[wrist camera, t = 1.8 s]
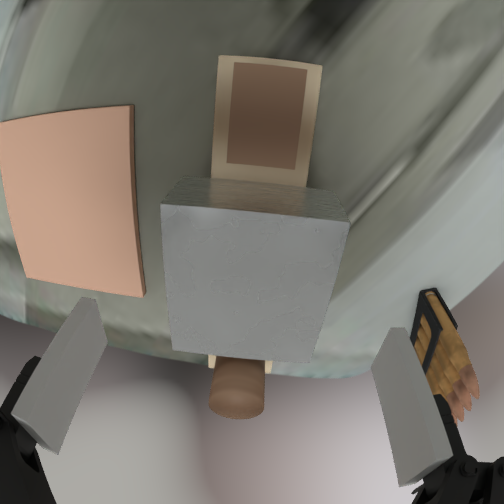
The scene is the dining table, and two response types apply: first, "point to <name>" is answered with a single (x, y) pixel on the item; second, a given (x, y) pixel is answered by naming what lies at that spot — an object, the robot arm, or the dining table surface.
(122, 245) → the mat
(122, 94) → the dining table surface
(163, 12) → the dining table surface
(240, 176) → the wooden peg stand
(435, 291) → the ammunition clip
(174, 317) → the brushed metal block
